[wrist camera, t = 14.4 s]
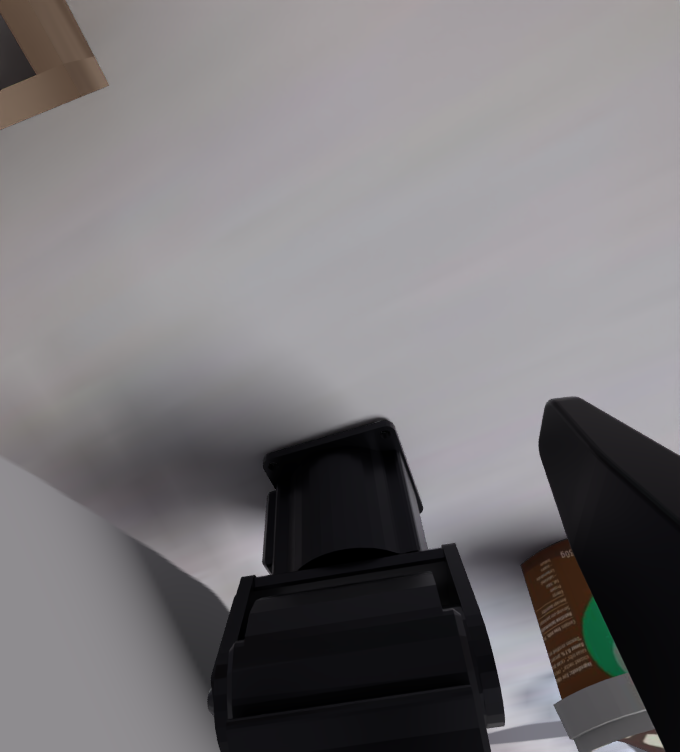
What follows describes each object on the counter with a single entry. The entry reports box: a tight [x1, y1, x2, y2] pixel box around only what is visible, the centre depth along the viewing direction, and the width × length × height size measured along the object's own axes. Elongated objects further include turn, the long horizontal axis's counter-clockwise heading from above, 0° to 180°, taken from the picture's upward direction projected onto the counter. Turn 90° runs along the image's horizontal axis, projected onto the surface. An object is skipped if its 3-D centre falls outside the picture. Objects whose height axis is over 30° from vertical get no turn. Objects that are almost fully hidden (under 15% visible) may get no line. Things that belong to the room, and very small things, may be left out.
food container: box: [521, 539, 665, 752], centre depth 27 cm, size 12×6×10 cm, turn 63°
